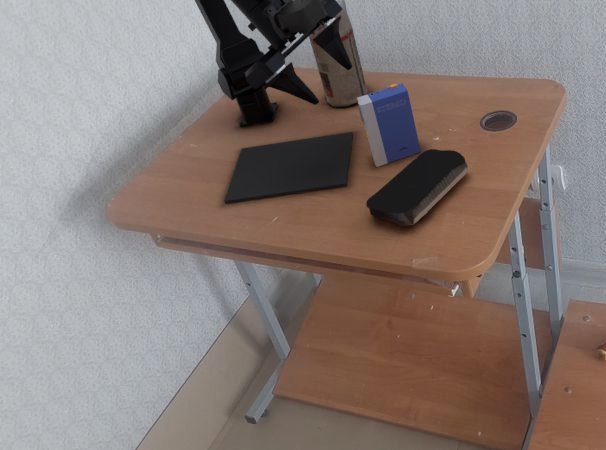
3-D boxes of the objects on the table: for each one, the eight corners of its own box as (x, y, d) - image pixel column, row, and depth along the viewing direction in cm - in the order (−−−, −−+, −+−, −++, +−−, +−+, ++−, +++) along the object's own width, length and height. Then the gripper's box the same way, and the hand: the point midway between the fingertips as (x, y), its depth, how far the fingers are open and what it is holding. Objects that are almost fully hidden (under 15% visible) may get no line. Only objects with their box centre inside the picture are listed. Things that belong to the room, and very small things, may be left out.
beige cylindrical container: (326, 90, 136) (297, -9, 124) (368, 82, 136) (342, -18, 124) (326, 112, 130) (294, 10, 117) (369, 104, 130) (342, 1, 117)
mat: (242, 151, 124) (241, 148, 124) (353, 134, 123) (352, 131, 122) (225, 203, 113) (223, 201, 112) (346, 186, 111) (345, 183, 111)
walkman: (415, 143, 118) (401, 80, 110) (421, 152, 116) (407, 88, 108) (371, 158, 116) (354, 96, 108) (376, 167, 114) (358, 104, 106)
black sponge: (409, 237, 100) (404, 217, 97) (365, 219, 104) (360, 200, 102) (474, 173, 109) (471, 154, 106) (431, 160, 113) (427, 141, 111)
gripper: (242, 12, 91) (326, 103, 96) (323, -54, 101) (394, 31, 106) (211, 47, 99) (289, 129, 104) (288, -18, 110) (356, 59, 115)
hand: (334, 85), depth 107 cm, fingers open, 9 cm apart
